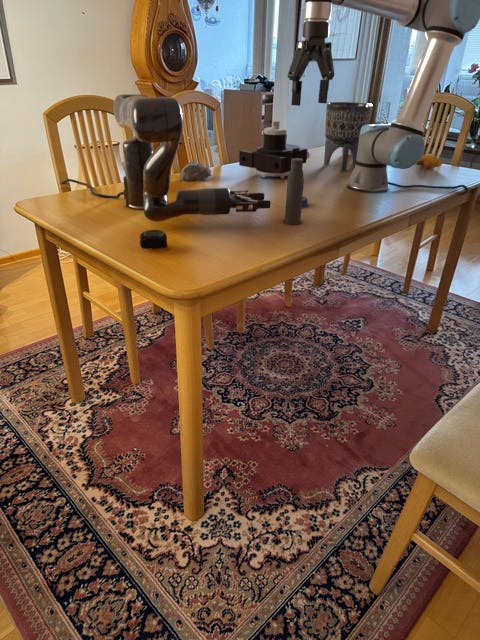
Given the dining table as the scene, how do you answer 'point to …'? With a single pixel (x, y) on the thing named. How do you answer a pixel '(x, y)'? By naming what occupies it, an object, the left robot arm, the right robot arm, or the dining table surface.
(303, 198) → the cap
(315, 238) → the dining table surface
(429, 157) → the toy
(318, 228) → the dining table surface
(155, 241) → the tape measure
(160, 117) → the left robot arm
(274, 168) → the mechanical component
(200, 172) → the rock
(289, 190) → the bottle
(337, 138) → the planter
